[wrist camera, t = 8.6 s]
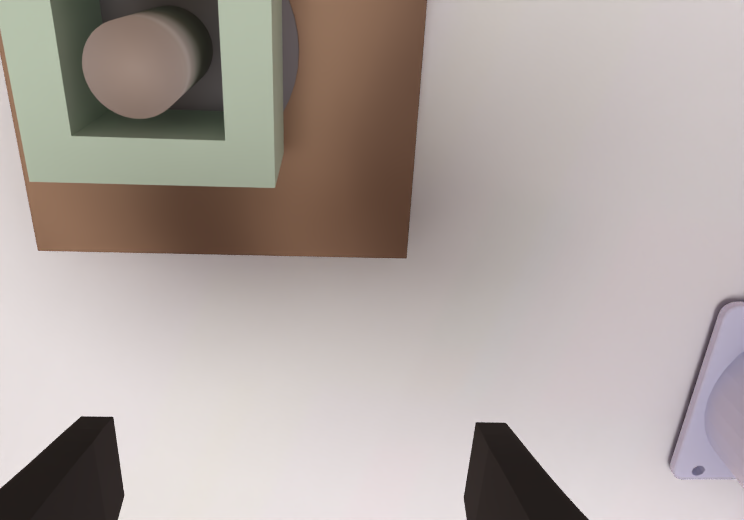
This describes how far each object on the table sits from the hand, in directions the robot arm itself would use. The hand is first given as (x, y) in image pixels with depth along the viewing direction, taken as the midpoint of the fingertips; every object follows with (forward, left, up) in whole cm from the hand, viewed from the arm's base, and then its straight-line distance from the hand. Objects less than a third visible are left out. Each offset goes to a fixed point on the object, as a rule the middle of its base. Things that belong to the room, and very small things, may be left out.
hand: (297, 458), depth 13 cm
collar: (+4, -7, -8) cm, 11 cm away
